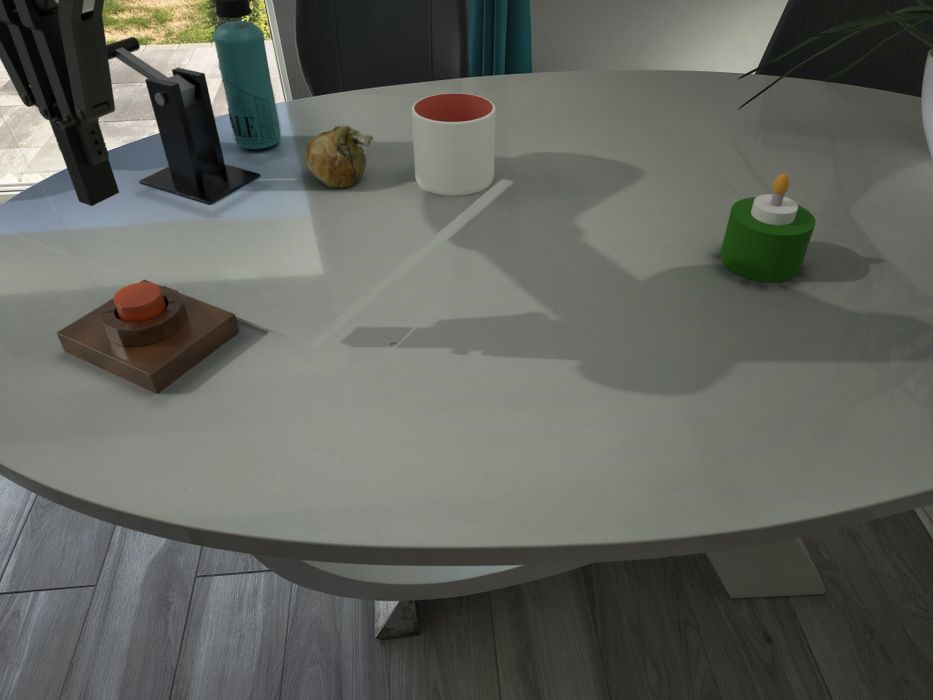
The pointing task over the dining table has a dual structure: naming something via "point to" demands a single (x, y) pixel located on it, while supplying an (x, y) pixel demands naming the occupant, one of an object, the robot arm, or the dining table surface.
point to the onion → (337, 156)
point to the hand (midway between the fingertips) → (99, 196)
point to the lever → (148, 67)
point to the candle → (767, 236)
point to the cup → (454, 143)
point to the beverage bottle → (246, 77)
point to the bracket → (191, 143)
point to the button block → (150, 339)
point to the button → (139, 302)
